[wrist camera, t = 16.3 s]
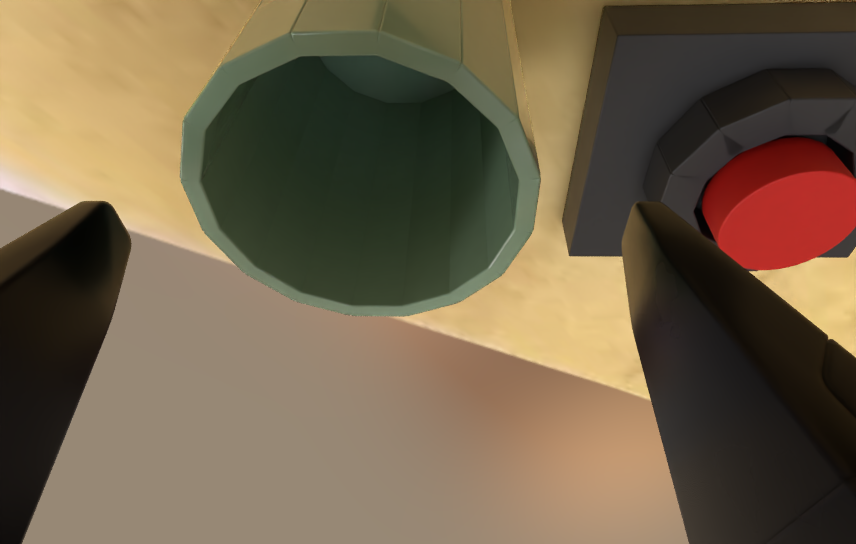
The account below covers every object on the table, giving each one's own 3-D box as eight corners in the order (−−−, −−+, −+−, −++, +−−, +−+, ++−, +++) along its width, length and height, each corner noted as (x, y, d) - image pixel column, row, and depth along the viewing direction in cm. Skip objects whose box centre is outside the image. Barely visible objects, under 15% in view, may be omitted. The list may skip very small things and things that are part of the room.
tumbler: (514, -125, 15) (563, 27, 8) (499, 103, 20) (521, 318, 13) (269, -117, 15) (114, 35, 8) (314, 105, 20) (239, 315, 13)
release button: (864, 135, 16) (897, 170, 15) (801, 235, 19) (825, 271, 18) (726, 136, 16) (747, 171, 15) (685, 235, 19) (700, 270, 18)
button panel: (967, -1, 17) (1067, 58, 14) (822, 221, 23) (872, 291, 20) (603, 5, 17) (631, 64, 14) (561, 221, 24) (575, 289, 21)
